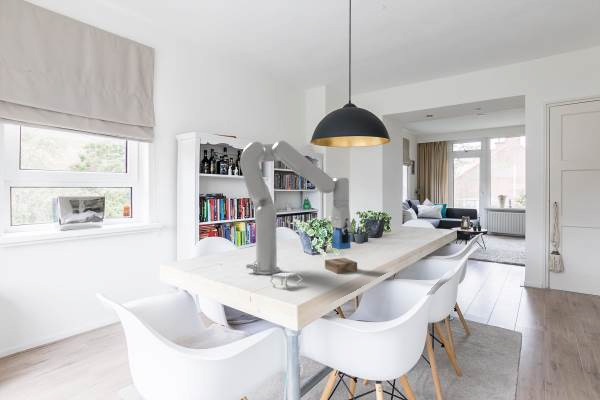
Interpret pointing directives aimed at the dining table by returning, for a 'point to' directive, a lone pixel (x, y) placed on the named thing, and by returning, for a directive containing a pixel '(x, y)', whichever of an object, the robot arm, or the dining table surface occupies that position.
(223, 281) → the dining table surface
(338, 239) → the perfume bottle
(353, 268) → the walnut block
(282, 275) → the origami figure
